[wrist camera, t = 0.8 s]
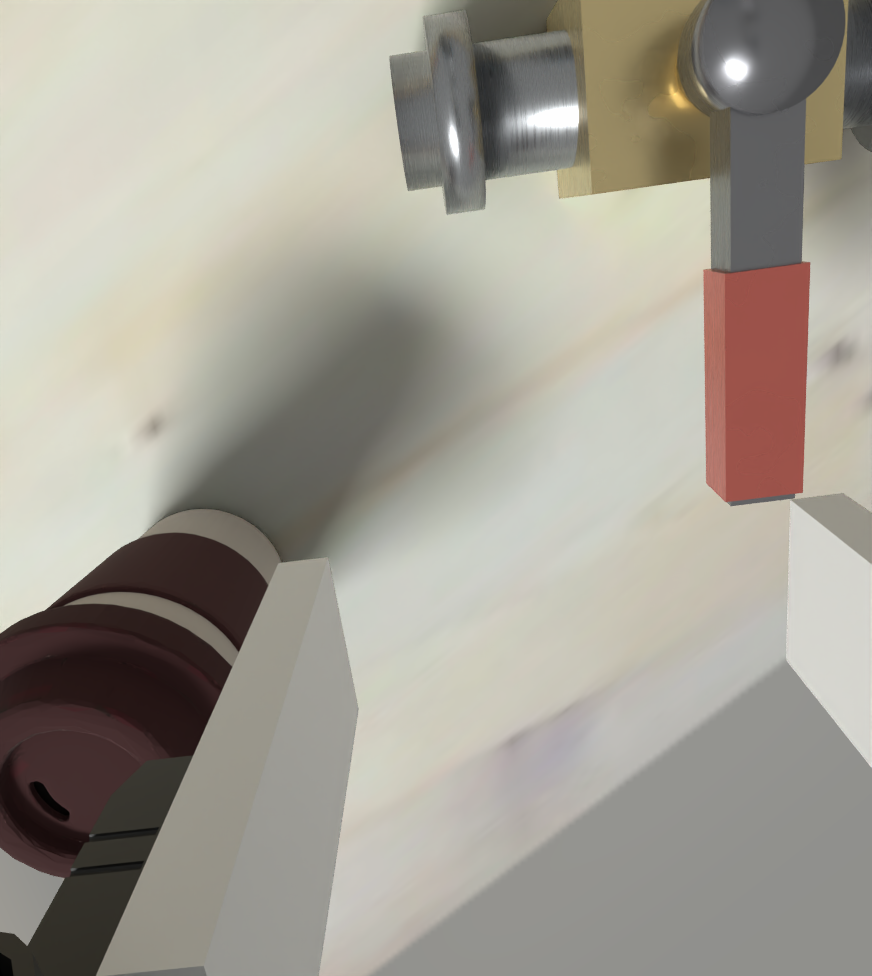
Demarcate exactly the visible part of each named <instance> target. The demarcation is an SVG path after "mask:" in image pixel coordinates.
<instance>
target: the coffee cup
mask: <svg viewBox="0 0 872 976" xmlns="http://www.w3.org/2000/svg"><path fill="white" fill-rule="evenodd" d="M278 563H281V560H280V557H279V555H278V553H277V552H276V550H275V548H274V546H273V545H272V543H271V542H270V541H269V540H268V538H267V537H266V536H265V535H264V534H263V533H262V532H261V531H260V530H259V529H257V528H256V527H255V526H254V525H252V524H250V523H249V522H247V521H246V520H244V519H242V518H240V517H238V516H236V515H233V514H231V513H227V512H223V511H219V510H212V509H192V510H187V511H182V512H179V513H175V514H173V515H170V516H168V517H166V518H164V519H162V520H161V521H159V522H158V523H156V524H155V525H154V526H153V527H151V528H150V529H149V530H148V531H147V532H146V533H145V534H143V535H142V536H141V537H140V538H139V539H137V540H135V541H133V542H131V543H129V544H127V545H125V546H123V547H121V548H120V549H119V550H117V551H116V552H114V553H113V554H112V555H111V556H109V557H108V558H107V559H106V560H105V561H103V562H102V563H101V564H100V565H99V566H98V567H96V568H95V569H94V570H93V571H92V572H90V573H89V574H88V575H87V576H86V577H84V578H83V579H82V580H81V581H80V582H78V583H77V584H76V585H75V586H74V587H72V588H71V589H70V590H69V591H68V592H66V593H65V594H64V595H63V596H62V597H60V598H59V599H58V600H57V601H56V602H54V603H53V604H52V605H51V606H50V607H49V608H47V609H46V610H45V611H42V612H39V613H37V614H34V615H32V616H30V617H27V618H25V619H23V620H20V621H19V622H17V623H15V624H13V625H12V626H10V627H9V628H8V629H6V630H5V631H3V632H2V633H1V634H0V848H2V849H3V850H4V851H6V853H8V854H9V855H10V856H12V857H13V858H14V859H16V860H18V861H20V862H22V863H24V864H26V865H28V866H30V867H32V868H34V869H36V870H38V871H41V872H44V873H47V874H50V875H53V876H58V877H63V878H65V877H70V875H71V869H70V868H71V867H72V865H73V863H74V861H75V859H76V858H77V856H78V854H79V852H80V850H81V849H82V847H83V845H84V843H87V842H89V838H90V837H89V834H90V832H91V831H92V829H93V827H94V825H95V823H96V821H97V820H98V818H99V816H100V814H101V812H102V811H103V809H104V807H105V805H106V803H107V802H108V800H109V798H110V796H111V795H112V794H113V793H114V792H115V791H116V790H117V789H118V788H119V787H120V786H121V785H122V784H123V783H124V782H125V781H126V780H127V779H128V778H129V777H130V776H131V775H133V774H134V773H135V772H136V771H137V770H138V769H139V768H140V767H141V766H142V765H143V764H144V763H145V762H146V761H149V760H158V759H166V758H175V757H184V756H193V755H194V753H195V751H196V748H197V746H198V744H199V742H200V739H201V737H202V735H203V733H204V730H205V728H206V726H207V723H208V721H209V719H210V717H211V714H212V712H213V710H214V708H215V705H216V703H217V701H218V699H219V696H220V694H221V692H222V690H223V687H224V685H225V683H226V681H227V678H228V676H229V674H230V671H231V669H232V667H233V665H234V662H235V660H236V658H237V656H238V653H239V651H240V649H241V647H242V644H243V642H244V640H245V638H246V635H247V633H248V631H249V629H250V626H251V624H252V622H253V619H254V617H255V615H256V613H257V610H258V608H259V606H260V604H261V601H262V599H263V597H264V595H265V592H266V590H267V588H268V586H269V583H270V581H271V579H272V577H273V574H274V572H275V570H276V567H277V565H278Z"/></svg>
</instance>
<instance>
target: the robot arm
mask: <svg viewBox="0 0 872 976" xmlns="http://www.w3.org/2000/svg"><path fill="white" fill-rule="evenodd" d="M786 660H787V662H788V663H789V664H790V665H791V667H792V668H793V669H794V670H795V672H796V673H797V674H798V675H799V677H800V678H801V679H802V680H803V682H804V683H805V684H806V686H807V687H808V688H809V689H810V690H811V692H812V693H813V694H814V695H815V697H816V698H817V699H818V701H819V702H820V703H821V704H822V706H823V707H824V708H825V709H826V711H827V712H828V713H829V715H830V716H831V717H832V718H833V720H834V721H835V722H836V723H837V725H838V726H839V727H840V728H841V730H842V731H843V732H844V733H845V735H846V736H847V737H848V738H849V740H850V741H851V742H852V743H853V745H854V746H855V747H856V749H857V750H858V751H859V752H860V753H861V755H862V756H863V757H864V758H865V760H866V761H867V762H868V764H869V765H870V766H871V767H872V513H871V512H870V511H868V510H867V509H866V508H864V507H863V506H861V505H860V504H858V503H857V502H855V501H854V500H852V499H851V498H849V497H848V496H846V495H845V494H843V493H841V494H833V495H825V496H817V497H809V498H801V499H793V500H790V536H789V572H788V609H787V646H786ZM358 710H359V709H358V704H357V699H356V694H355V689H354V684H353V679H352V674H351V669H350V664H349V659H348V654H347V649H346V644H345V639H344V634H343V629H342V623H341V618H340V613H339V608H338V603H337V598H336V593H335V588H334V583H333V578H332V573H331V568H330V563H329V558H328V557H324V558H316V559H307V560H299V561H291V562H283V563H278V565H277V567H276V570H275V572H274V574H273V577H272V579H271V581H270V583H269V586H268V588H267V590H266V592H265V595H264V597H263V599H262V601H261V604H260V606H259V608H258V610H257V613H256V615H255V617H254V619H253V622H252V624H251V626H250V629H249V631H248V633H247V635H246V638H245V640H244V642H243V644H242V647H241V649H240V651H239V653H238V656H237V658H236V660H235V662H234V665H233V667H232V669H231V671H230V674H229V676H228V678H227V681H226V683H225V685H224V687H223V690H222V692H221V694H220V696H219V699H218V701H217V703H216V705H215V708H214V710H213V712H212V714H211V717H210V719H209V721H208V723H207V726H206V728H205V730H204V733H203V735H202V737H201V739H200V742H199V744H198V746H197V748H196V751H195V753H194V755H193V756H184V757H175V758H166V759H158V760H149V761H146V762H145V763H144V764H143V765H142V766H141V767H140V768H139V769H138V770H137V771H136V772H135V773H134V774H133V775H131V776H130V777H129V778H128V779H127V780H126V781H125V782H124V783H123V784H122V785H121V786H120V787H119V788H118V789H117V790H116V791H115V792H114V793H113V794H112V795H111V796H110V798H109V800H108V802H107V803H106V805H105V807H104V809H103V811H102V812H101V814H100V816H99V818H98V820H97V821H96V823H95V825H94V827H93V829H92V831H91V832H90V834H89V837H90V838H89V842H87V843H84V845H83V847H82V849H81V850H80V852H79V854H78V856H77V858H76V859H75V861H74V863H73V865H72V867H71V868H70V869H71V875H70V877H65V879H64V881H63V883H62V885H61V887H60V888H59V890H58V892H57V894H56V896H55V897H54V899H53V901H52V903H51V905H50V907H49V908H48V910H47V912H46V914H45V915H44V917H43V919H42V921H41V923H40V925H39V927H38V928H37V930H36V932H35V934H34V935H33V937H32V939H31V941H30V943H29V944H28V946H26V945H25V944H24V943H23V942H22V941H21V940H20V939H19V938H18V937H17V936H16V935H15V934H10V933H3V932H0V976H319V970H320V963H321V957H322V950H323V943H324V937H325V930H326V923H327V917H328V910H329V903H330V897H331V890H332V883H333V877H334V870H335V863H336V857H337V850H338V843H339V836H340V830H341V823H342V816H343V810H344V803H345V796H346V790H347V783H348V776H349V770H350V763H351V756H352V750H353V743H354V736H355V730H356V723H357V716H358Z"/></svg>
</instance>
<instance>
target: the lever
mask: <svg viewBox="0 0 872 976" xmlns="http://www.w3.org/2000/svg"><path fill="white" fill-rule="evenodd" d="M844 34H845V8H844V2H843V0H701V1H700V2H699V4H698V5H697V6H696V7H695V8H694V10H693V11H692V13H691V14H690V16H689V18H688V20H687V22H686V23H685V26H684V28H683V31H682V33H681V37H680V41H679V46H678V53H677V66H678V74H679V79H680V82H681V85H682V88H683V90H684V92H685V94H686V96H687V97H688V99H689V100H690V102H691V103H692V104H693V105H694V106H695V107H696V108H697V109H698V110H699V111H700V112H702V113H703V114H705V115H706V116H708V117H710V192H711V269H705V270H704V343H705V420H706V483H707V484H708V485H709V486H710V487H711V488H712V489H713V490H714V491H715V492H716V493H717V494H718V495H719V496H720V497H721V498H722V499H723V500H724V501H725V502H727V503H728V504H729V505H730V506H736V505H744V504H752V503H760V502H768V501H776V500H784V499H792V498H795V494H796V493H803V467H804V437H805V406H806V376H807V346H808V315H809V285H810V262H803V261H802V228H803V193H804V159H805V125H806V98H807V97H809V96H810V95H811V94H812V93H813V92H814V91H816V89H817V88H818V87H819V86H820V85H821V84H822V83H823V82H824V80H825V79H826V78H827V76H828V75H829V73H830V72H831V70H832V68H833V67H834V65H835V63H836V61H837V58H838V56H839V53H840V50H841V47H842V44H843V39H844Z"/></svg>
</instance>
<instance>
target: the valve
mask: <svg viewBox="0 0 872 976" xmlns="http://www.w3.org/2000/svg"><path fill="white" fill-rule="evenodd" d="M700 1H701V0H558V1H557V3H556V5H555V6H554V8H553V10H552V11H551V13H550V15H549V17H548V18H547V20H546V24H547V32H545V33H538V34H532V35H525V36H518V37H512V38H505V39H499V40H492V41H485V42H479V43H472V39H471V33H470V27H469V22H468V18H467V14H466V11H465V10H461V11H455V12H448V13H441V14H435V15H428V16H423V25H424V36H425V46H426V50H425V51H419V52H412V53H405V54H399V55H392V56H390V69H391V78H392V86H393V94H394V102H395V110H396V117H397V124H398V132H399V139H400V146H401V152H402V159H403V165H404V172H405V178H406V183H407V188H408V191H412V190H419V189H426V188H433V187H440V186H442V188H443V196H444V203H445V209H446V214H447V215H448V214H455V213H462V212H469V211H476V210H484V209H485V202H486V186H485V180H489V179H496V178H503V177H510V176H517V175H524V174H531V173H538V172H545V171H552V170H557V175H558V189H559V199H560V198H568V197H576V196H584V195H591V194H599V193H606V192H613V191H620V190H627V189H634V188H641V187H648V186H655V185H662V184H669V183H676V182H684V181H691V180H698V179H705V178H710V117H708V116H706V115H705V114H703V113H702V112H700V111H699V110H698V109H697V108H696V107H695V106H694V105H693V104H692V103H691V102H690V100H689V99H688V97H687V96H686V94H685V92H684V90H683V88H682V85H681V82H680V79H679V74H678V66H677V53H678V46H679V41H680V37H681V33H682V31H683V28H684V26H685V23H686V22H687V20H688V18H689V16H690V14H691V13H692V11H693V10H694V8H695V7H696V6H697V5H698V4H699V2H700ZM843 2H844V8H845V34H844V39H843V44H842V47H841V50H840V53H839V56H838V58H837V61H836V63H835V65H834V67H833V68H832V70H831V72H830V73H829V75H828V76H827V78H826V79H825V80H824V82H823V83H822V84H821V85H820V86H819V87H818V88H817V89H816V91H814V92H813V93H812V94H811V95H810V96H809V97H807V98H806V125H805V159H804V164H811V163H818V162H825V161H832V160H839V159H841V157H842V135H843V129H846V128H851V130H852V132H853V134H854V136H855V137H856V139H857V140H858V141H859V143H860V144H861V145H862V146H863V147H864V148H865V149H867V150H869V151H871V152H872V0H843Z"/></svg>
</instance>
